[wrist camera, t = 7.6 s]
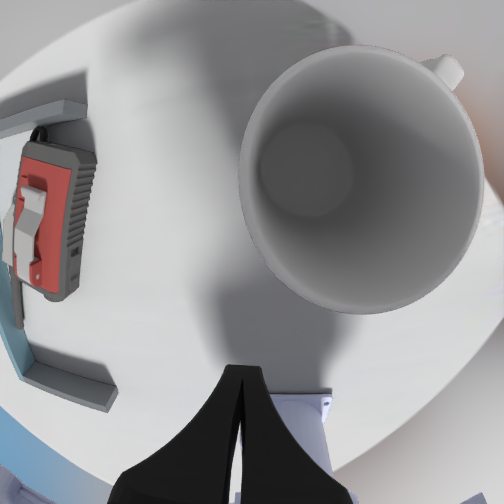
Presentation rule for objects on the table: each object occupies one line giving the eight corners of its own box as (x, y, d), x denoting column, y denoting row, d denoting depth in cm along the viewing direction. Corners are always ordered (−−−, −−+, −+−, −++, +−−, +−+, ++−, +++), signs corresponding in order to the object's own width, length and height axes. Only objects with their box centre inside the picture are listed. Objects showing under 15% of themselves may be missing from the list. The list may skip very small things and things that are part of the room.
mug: (309, 242, 19) (376, 355, 7) (229, 176, 18) (175, 200, 6) (401, 133, 16) (539, 122, 5) (328, 65, 15) (409, -37, 4)
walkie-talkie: (32, 123, 16) (20, 318, 22) (-3, 121, 12) (-3, 338, 18) (109, 139, 17) (81, 353, 23) (74, 136, 13) (60, 380, 19)
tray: (118, 393, 24) (107, 413, 21) (32, 365, 24) (19, 379, 21) (87, 104, 16) (64, 99, 13) (-6, 131, 16) (-28, 131, 13)
